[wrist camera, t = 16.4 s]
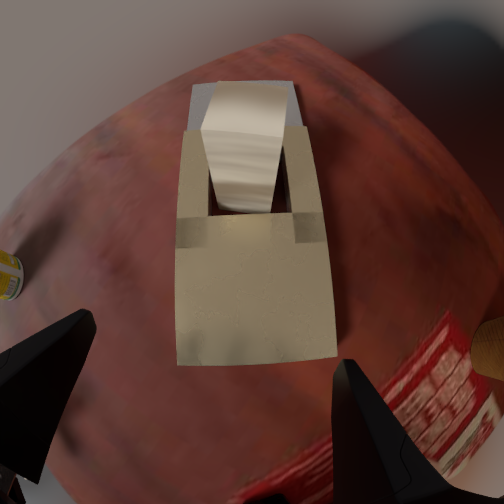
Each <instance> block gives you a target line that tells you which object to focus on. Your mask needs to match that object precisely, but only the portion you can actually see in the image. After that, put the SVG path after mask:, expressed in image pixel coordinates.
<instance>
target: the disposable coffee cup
mask: <svg viewBox="0 0 504 504" xmlns="http://www.w3.org/2000/svg"><path fill="white" fill-rule="evenodd" d="M471 363H472V366H473V369H474V370H475V372H476V373H478V374H481V375H485V376H488V377H492V378H495V379H498V380H502V381H504V316H502V317H499V318H497V319H493V320H490V321H487V322H484V323H483V324H481V325H480V326H479V328H478V329H477V331H476V333H475V335H474V338H473V341H472V346H471Z"/></svg>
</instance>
